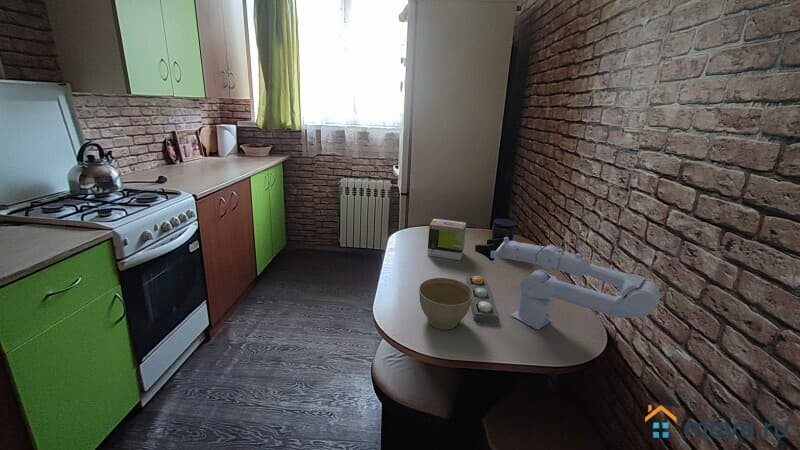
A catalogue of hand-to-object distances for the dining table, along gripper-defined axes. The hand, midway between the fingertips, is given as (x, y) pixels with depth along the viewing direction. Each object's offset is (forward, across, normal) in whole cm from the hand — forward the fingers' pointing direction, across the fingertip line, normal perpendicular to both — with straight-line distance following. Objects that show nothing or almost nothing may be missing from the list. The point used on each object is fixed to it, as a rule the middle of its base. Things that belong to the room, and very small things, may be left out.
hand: (481, 245), depth 122 cm
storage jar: (+15, -42, +17) cm, 48 cm away
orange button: (+5, -5, +16) cm, 18 cm away
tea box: (+30, -21, +14) cm, 40 cm away
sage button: (-1, +2, +17) cm, 17 cm away
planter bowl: (+1, +22, +19) cm, 29 cm away
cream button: (-6, +9, +18) cm, 22 cm away
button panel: (0, +2, +19) cm, 19 cm away
